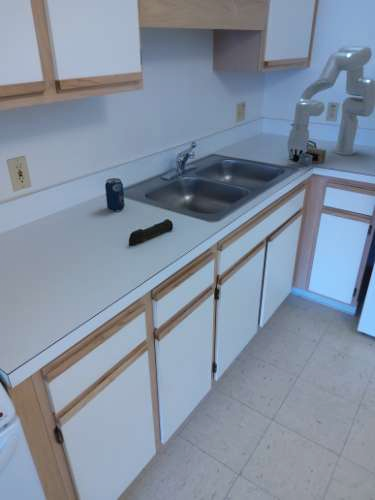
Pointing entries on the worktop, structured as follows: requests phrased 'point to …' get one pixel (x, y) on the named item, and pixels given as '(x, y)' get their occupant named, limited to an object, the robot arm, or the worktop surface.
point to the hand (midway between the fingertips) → (295, 161)
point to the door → (302, 158)
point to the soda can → (114, 194)
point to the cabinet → (316, 155)
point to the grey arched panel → (311, 144)
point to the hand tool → (149, 232)
